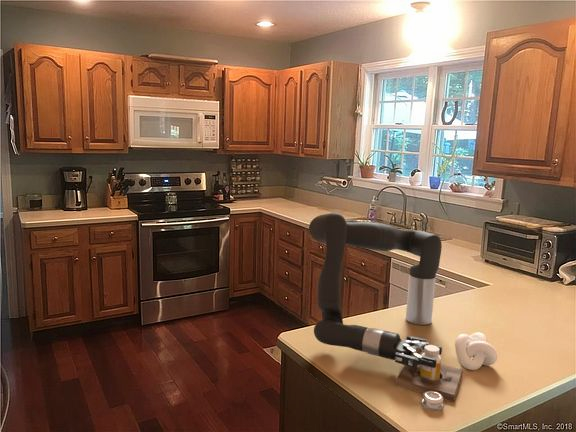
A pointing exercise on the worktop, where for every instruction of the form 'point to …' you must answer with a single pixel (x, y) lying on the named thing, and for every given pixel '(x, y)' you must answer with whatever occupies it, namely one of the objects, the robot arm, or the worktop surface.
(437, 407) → the metal grooved wheel
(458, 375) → the socket board
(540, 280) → the worktop surface
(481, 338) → the white knot
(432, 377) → the supplement bottle
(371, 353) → the robot arm
